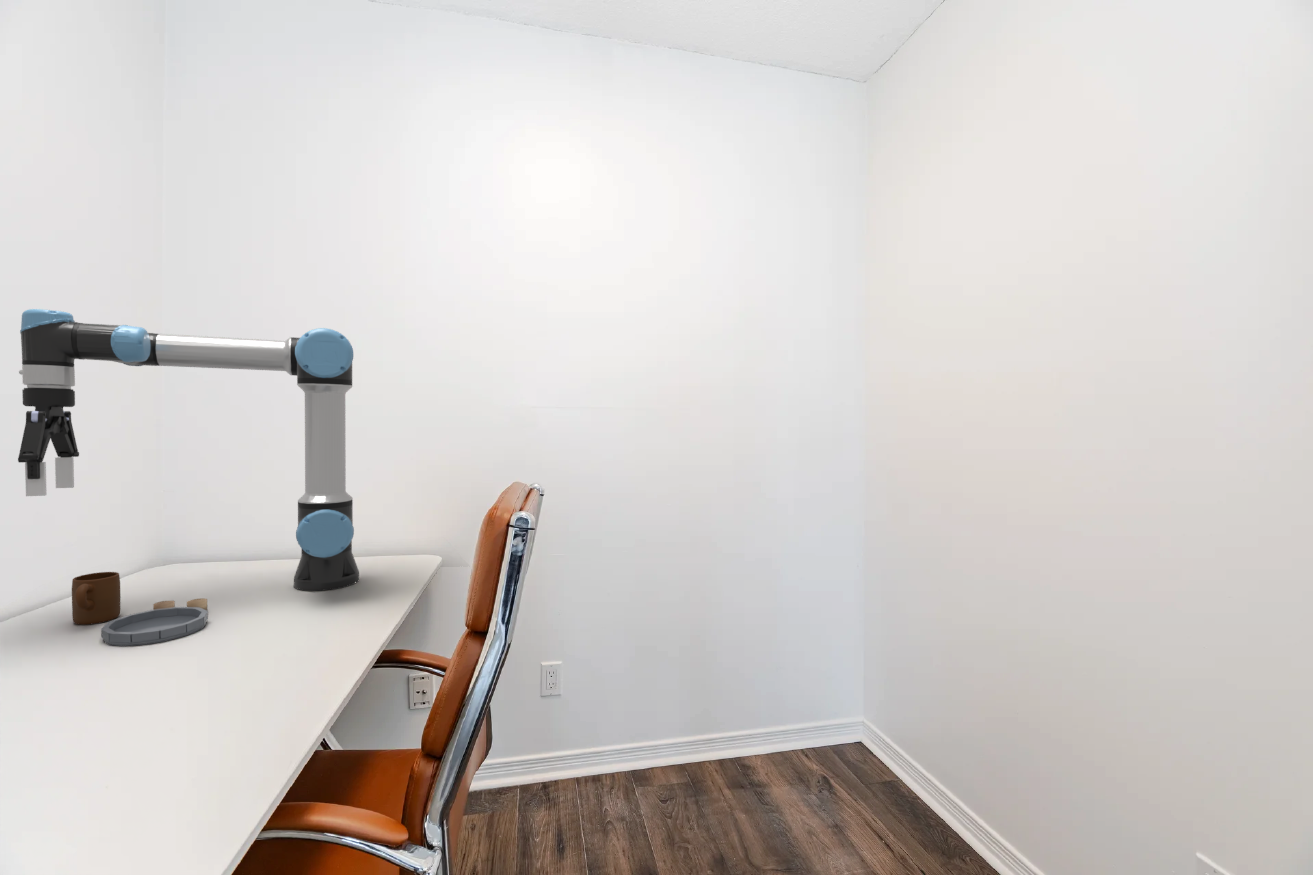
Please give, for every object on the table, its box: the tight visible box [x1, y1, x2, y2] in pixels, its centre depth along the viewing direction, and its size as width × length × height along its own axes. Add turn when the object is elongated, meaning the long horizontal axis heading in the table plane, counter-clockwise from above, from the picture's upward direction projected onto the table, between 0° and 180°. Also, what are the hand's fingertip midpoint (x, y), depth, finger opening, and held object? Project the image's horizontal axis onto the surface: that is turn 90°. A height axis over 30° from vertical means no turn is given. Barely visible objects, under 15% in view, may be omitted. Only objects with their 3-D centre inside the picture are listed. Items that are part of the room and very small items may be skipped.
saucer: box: [100, 606, 209, 647], centre depth 123 cm, size 16×16×2 cm
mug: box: [71, 571, 122, 626], centre depth 127 cm, size 12×8×9 cm, turn 24°
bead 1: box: [152, 600, 176, 610], centre depth 132 cm, size 4×4×3 cm
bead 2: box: [186, 598, 208, 611], centre depth 134 cm, size 4×4×3 cm
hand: (51, 491), depth 123 cm, fingers open, 13 cm apart
